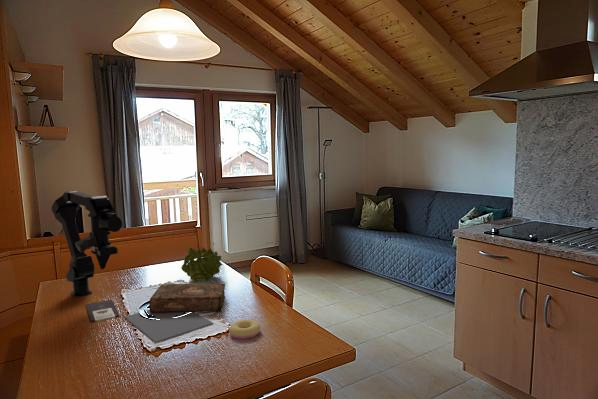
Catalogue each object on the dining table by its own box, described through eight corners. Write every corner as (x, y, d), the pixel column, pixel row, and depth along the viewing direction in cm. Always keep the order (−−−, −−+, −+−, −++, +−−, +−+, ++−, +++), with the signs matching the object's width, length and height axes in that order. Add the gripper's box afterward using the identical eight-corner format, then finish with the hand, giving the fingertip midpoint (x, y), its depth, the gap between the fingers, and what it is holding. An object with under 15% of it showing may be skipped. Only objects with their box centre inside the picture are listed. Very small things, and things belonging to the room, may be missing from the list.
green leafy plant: (200, 261, 199) (222, 241, 194) (210, 289, 191) (234, 269, 186) (171, 257, 184) (194, 235, 179) (181, 286, 176) (205, 265, 171)
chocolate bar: (111, 299, 160) (119, 315, 145) (111, 301, 161) (119, 317, 145) (85, 304, 156) (91, 320, 141) (85, 306, 156) (91, 323, 141)
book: (149, 314, 146) (220, 313, 148) (149, 299, 146) (220, 298, 147) (161, 297, 162) (225, 296, 164) (161, 284, 162) (225, 283, 164)
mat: (124, 317, 144) (124, 316, 144) (177, 303, 158) (177, 302, 158) (155, 343, 125) (155, 341, 125) (213, 324, 139) (213, 322, 139)
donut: (227, 337, 134) (236, 345, 126) (224, 324, 134) (233, 331, 125) (255, 326, 138) (266, 333, 130) (252, 313, 138) (263, 319, 130)
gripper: (69, 228, 158) (72, 268, 160) (84, 235, 144) (87, 279, 146) (100, 224, 165) (102, 262, 167) (116, 231, 151) (119, 272, 153)
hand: (102, 269), depth 158 cm, fingers closed
